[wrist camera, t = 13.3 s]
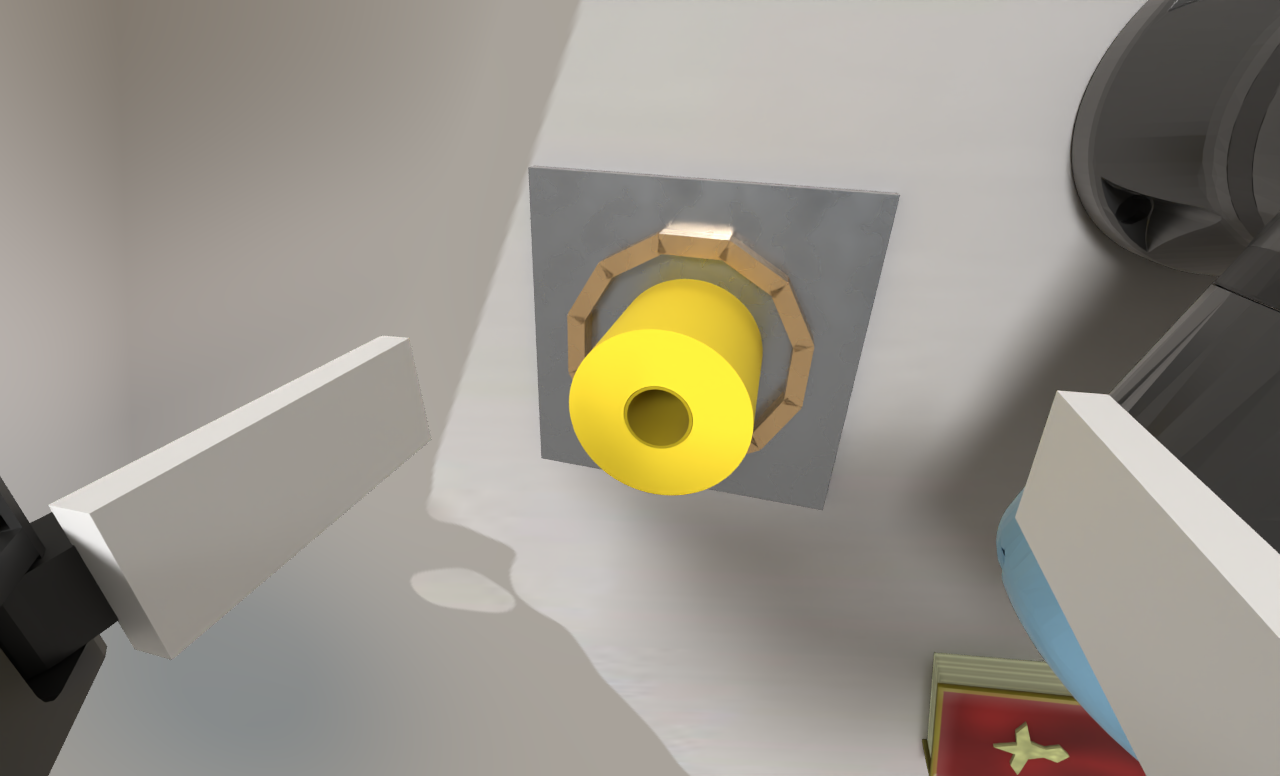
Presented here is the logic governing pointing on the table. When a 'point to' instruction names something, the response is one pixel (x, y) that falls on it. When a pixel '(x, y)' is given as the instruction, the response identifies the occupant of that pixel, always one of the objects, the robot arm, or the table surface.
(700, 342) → the tape roll
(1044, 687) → the hardcover book
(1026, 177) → the table surface
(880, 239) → the ring collar plate
